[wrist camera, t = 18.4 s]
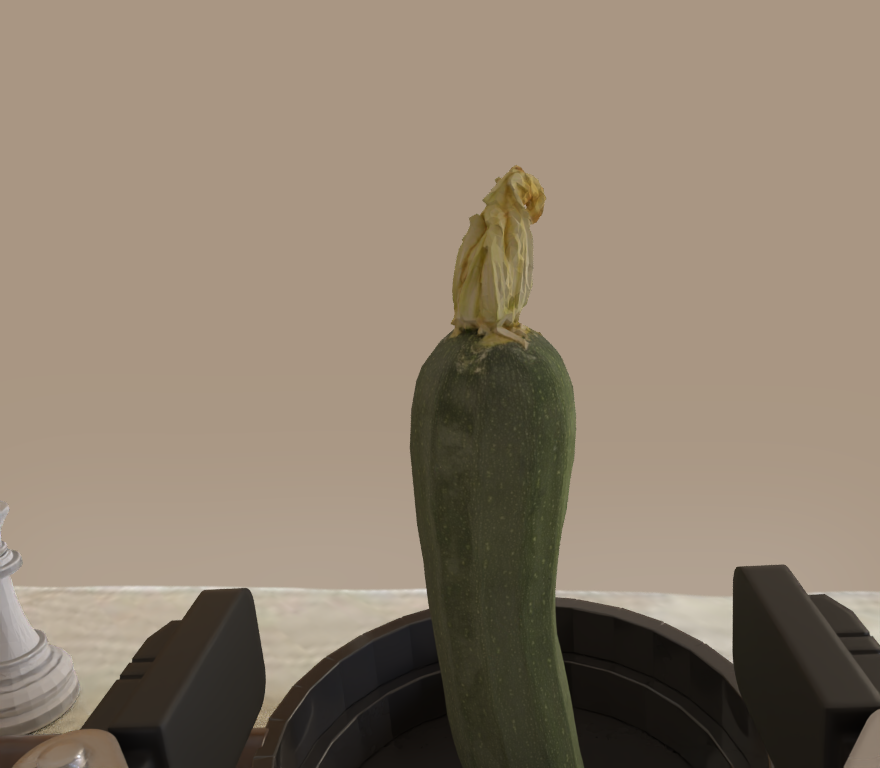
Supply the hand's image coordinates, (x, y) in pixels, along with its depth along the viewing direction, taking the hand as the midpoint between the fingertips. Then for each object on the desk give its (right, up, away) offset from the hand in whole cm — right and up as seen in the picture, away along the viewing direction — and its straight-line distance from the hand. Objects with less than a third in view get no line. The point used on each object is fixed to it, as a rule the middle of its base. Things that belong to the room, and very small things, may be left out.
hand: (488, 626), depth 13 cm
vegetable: (+2, -10, +11) cm, 15 cm away
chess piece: (-19, -10, +21) cm, 30 cm away
